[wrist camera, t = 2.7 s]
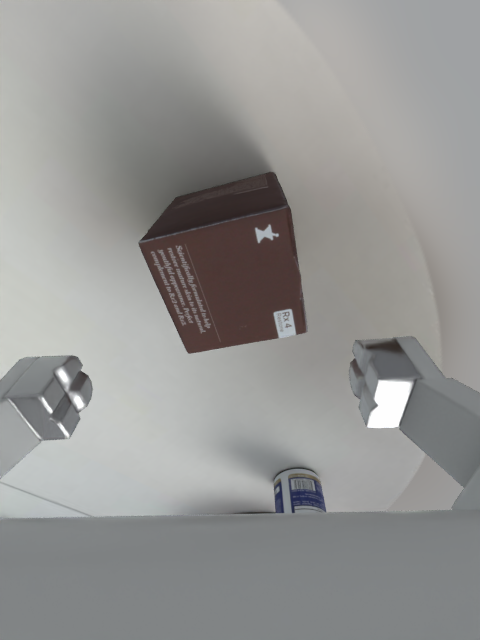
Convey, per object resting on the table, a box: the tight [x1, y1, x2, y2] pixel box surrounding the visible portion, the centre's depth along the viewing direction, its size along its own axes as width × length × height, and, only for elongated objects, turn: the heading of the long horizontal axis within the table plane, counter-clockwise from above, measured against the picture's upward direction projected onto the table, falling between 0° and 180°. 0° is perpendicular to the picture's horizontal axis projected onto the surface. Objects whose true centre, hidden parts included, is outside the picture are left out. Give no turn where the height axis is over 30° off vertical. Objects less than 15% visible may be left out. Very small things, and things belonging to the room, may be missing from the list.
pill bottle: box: [274, 469, 326, 513], centre depth 31 cm, size 5×5×10 cm
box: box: [139, 172, 308, 354], centre depth 16 cm, size 6×6×7 cm
